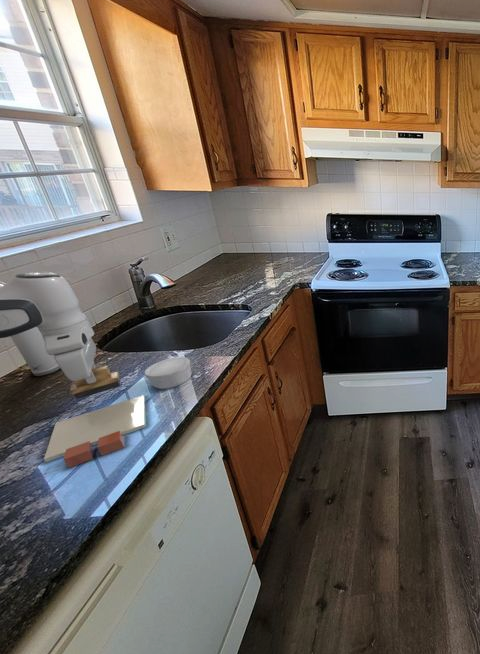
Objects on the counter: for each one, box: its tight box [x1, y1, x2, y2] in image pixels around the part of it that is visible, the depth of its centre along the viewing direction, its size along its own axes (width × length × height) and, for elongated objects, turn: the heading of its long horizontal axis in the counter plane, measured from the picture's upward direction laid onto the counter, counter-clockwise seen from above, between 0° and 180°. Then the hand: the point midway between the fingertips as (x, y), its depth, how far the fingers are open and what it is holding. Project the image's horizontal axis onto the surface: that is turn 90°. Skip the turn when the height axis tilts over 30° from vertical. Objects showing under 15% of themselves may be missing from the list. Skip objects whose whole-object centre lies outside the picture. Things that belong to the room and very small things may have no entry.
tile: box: [43, 394, 147, 463], centre depth 92 cm, size 18×16×1 cm
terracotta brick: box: [97, 431, 126, 456], centre depth 85 cm, size 4×4×2 cm
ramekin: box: [143, 356, 192, 390], centre depth 109 cm, size 11×11×5 cm
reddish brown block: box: [63, 441, 95, 469], centre depth 82 cm, size 4×4×2 cm
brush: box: [69, 365, 122, 400], centre depth 99 cm, size 10×4×6 cm, turn 128°
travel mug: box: [10, 327, 61, 377], centre depth 114 cm, size 6×7×20 cm
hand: (93, 379), depth 98 cm, fingers closed on brush, 2 cm apart
